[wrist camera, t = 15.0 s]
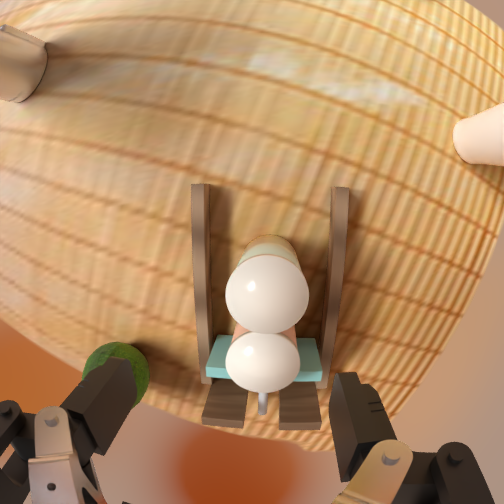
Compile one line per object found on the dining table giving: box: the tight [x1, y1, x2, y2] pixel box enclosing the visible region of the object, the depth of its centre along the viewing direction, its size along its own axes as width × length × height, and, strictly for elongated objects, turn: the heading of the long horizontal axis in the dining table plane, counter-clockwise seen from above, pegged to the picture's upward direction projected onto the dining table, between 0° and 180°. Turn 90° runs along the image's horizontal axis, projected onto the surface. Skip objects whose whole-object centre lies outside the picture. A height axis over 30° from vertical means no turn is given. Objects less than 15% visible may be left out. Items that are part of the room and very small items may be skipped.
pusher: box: [206, 335, 323, 415], centre depth 29 cm, size 8×11×6 cm
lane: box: [191, 184, 349, 430], centre depth 27 cm, size 23×14×8 cm, turn 179°
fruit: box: [82, 342, 150, 408], centre depth 28 cm, size 8×8×12 cm
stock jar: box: [226, 322, 300, 393], centre depth 26 cm, size 6×6×10 cm
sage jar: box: [225, 235, 309, 334], centre depth 25 cm, size 6×6×10 cm
